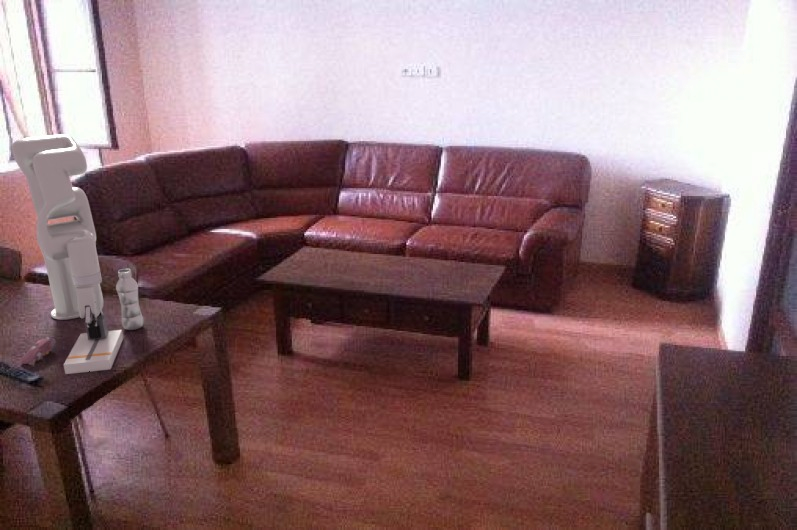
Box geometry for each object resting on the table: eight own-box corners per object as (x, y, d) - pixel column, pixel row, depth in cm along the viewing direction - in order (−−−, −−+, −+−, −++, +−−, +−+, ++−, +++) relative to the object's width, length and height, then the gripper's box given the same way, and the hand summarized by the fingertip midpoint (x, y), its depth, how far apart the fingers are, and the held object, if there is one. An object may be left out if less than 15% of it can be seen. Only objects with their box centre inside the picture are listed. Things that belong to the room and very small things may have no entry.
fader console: (82, 342, 200) (80, 333, 199) (123, 338, 202) (121, 329, 201) (65, 374, 181) (63, 364, 180) (110, 369, 184) (108, 359, 183)
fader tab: (91, 334, 197) (87, 316, 195) (108, 332, 198) (105, 314, 196) (88, 339, 194) (84, 321, 192) (105, 338, 195) (102, 320, 193)
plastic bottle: (134, 322, 213) (124, 265, 206) (149, 326, 210) (139, 269, 203) (118, 330, 208) (108, 272, 201) (133, 334, 205) (123, 275, 198)
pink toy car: (32, 370, 187) (37, 352, 184) (18, 363, 187) (23, 344, 184) (55, 354, 196) (60, 336, 193) (42, 347, 196) (47, 329, 193)
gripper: (80, 269, 197) (91, 323, 203) (65, 290, 181) (77, 347, 187) (106, 267, 198) (116, 320, 204) (94, 287, 182) (105, 345, 189)
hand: (97, 333), depth 196 cm, fingers open, 5 cm apart
